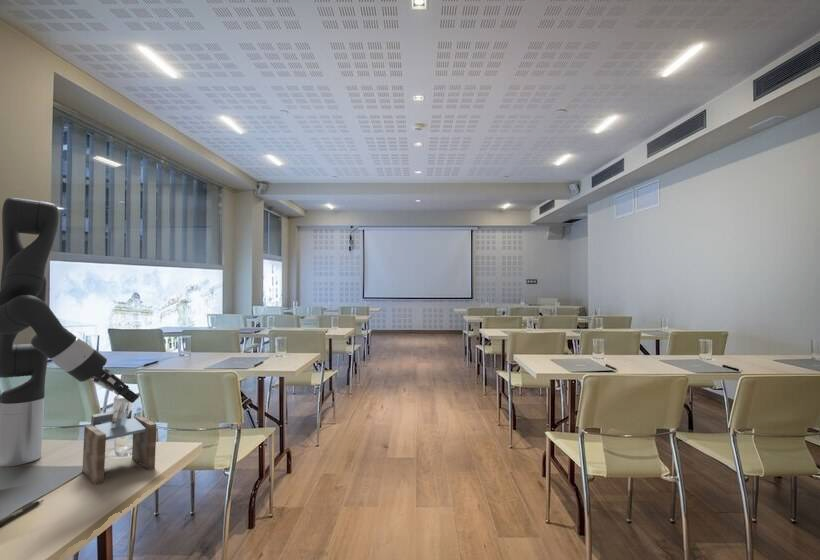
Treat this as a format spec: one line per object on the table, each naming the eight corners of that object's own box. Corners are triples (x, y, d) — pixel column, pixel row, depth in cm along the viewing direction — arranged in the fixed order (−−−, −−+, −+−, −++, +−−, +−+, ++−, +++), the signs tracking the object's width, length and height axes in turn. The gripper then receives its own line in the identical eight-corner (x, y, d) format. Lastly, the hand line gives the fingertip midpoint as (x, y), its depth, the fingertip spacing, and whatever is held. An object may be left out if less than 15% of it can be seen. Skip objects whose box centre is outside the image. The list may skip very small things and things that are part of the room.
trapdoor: (89, 436, 112) (90, 414, 112) (128, 427, 119) (130, 408, 119) (103, 454, 103) (105, 431, 103) (144, 444, 111) (146, 422, 111)
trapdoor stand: (82, 470, 108) (84, 425, 109) (137, 456, 118) (139, 415, 119) (96, 484, 100) (98, 435, 101) (154, 468, 110) (156, 423, 111)
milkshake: (124, 419, 113) (132, 386, 113) (129, 428, 110) (137, 394, 109) (105, 421, 110) (113, 387, 109) (109, 431, 107) (117, 396, 106)
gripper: (100, 350, 100) (152, 390, 108) (84, 345, 109) (134, 383, 117) (72, 374, 95) (128, 414, 104) (58, 368, 104) (111, 405, 113)
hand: (131, 398), depth 111 cm, fingers open, 5 cm apart
